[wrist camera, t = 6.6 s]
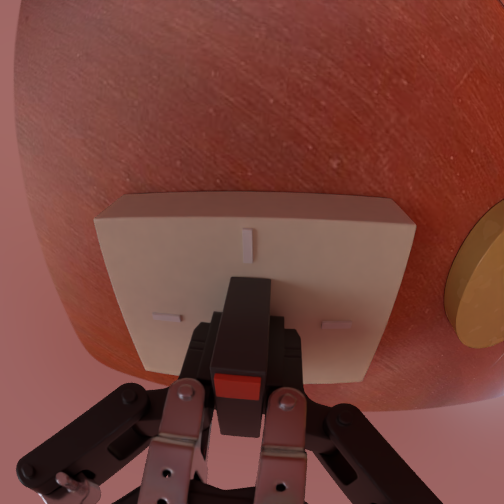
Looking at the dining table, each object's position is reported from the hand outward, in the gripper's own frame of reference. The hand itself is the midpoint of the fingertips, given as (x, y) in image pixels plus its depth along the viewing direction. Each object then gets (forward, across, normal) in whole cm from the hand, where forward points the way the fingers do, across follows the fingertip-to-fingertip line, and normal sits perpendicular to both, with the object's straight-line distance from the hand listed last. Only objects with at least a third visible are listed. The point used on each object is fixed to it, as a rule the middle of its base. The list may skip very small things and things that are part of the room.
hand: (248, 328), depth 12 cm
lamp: (+3, -21, -2) cm, 21 cm away
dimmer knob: (0, 0, 0) cm, 0 cm away
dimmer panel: (+3, 0, 0) cm, 3 cm away
